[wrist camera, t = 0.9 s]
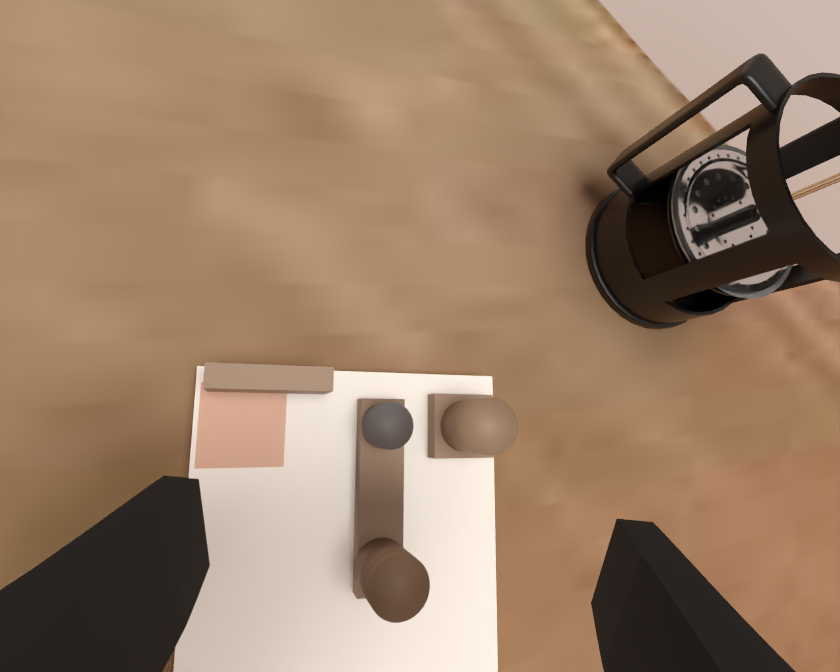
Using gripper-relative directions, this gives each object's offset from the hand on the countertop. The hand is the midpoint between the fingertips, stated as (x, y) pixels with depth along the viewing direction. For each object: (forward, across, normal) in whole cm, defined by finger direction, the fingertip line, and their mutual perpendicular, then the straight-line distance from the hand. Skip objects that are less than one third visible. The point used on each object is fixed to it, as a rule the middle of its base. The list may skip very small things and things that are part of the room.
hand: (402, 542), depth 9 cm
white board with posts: (+10, +3, +13) cm, 17 cm away
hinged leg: (+12, +2, +9) cm, 15 cm away
